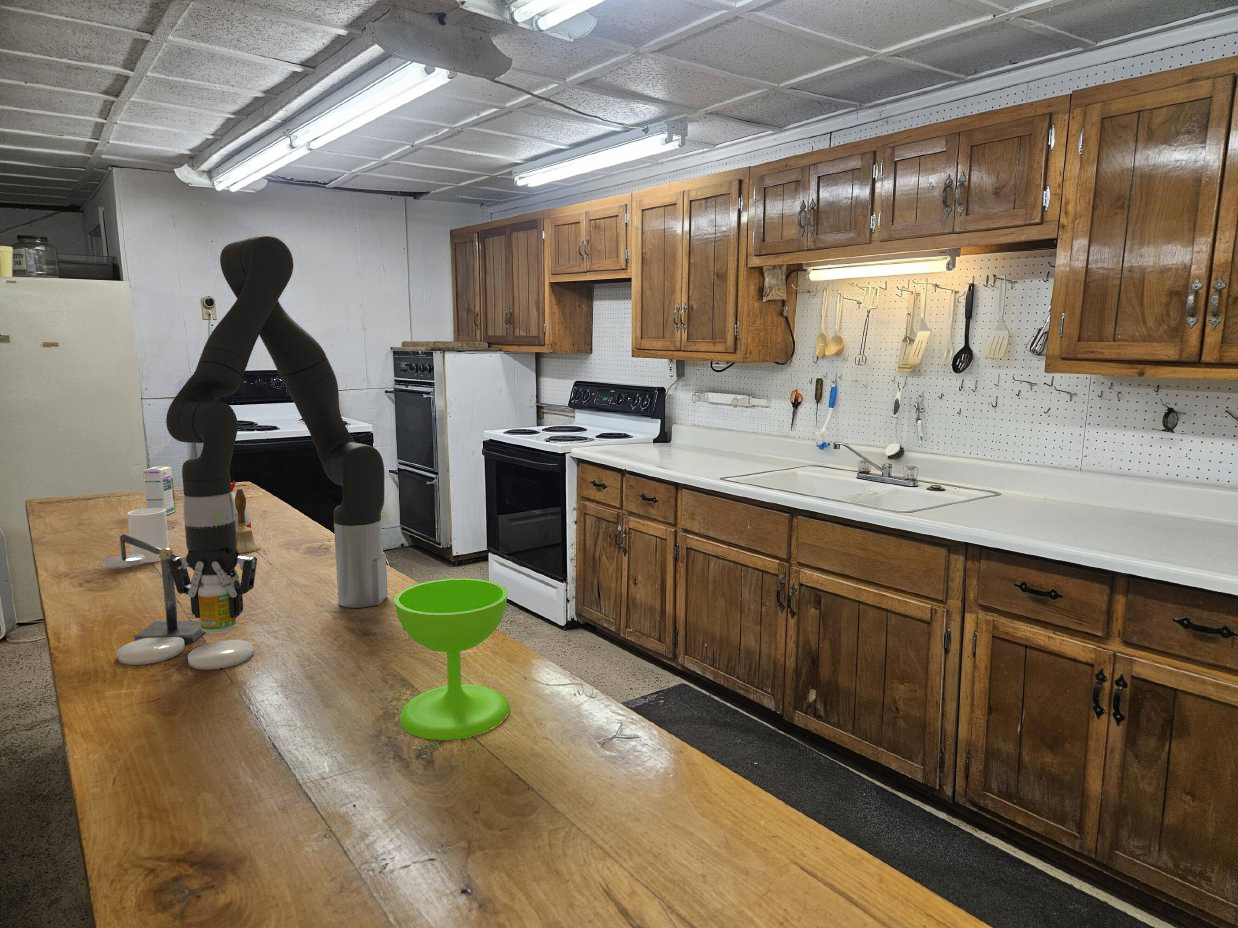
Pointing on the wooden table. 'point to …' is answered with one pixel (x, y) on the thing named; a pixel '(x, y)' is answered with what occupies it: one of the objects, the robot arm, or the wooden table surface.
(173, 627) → the balance
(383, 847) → the wooden table surface
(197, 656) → the dish low side
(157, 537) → the mug
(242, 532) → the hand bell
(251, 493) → the wooden table surface
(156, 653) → the dish high side
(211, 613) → the supplement bottle
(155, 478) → the syrup box
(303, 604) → the wooden table surface
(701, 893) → the wooden table surface
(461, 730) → the wineglass
